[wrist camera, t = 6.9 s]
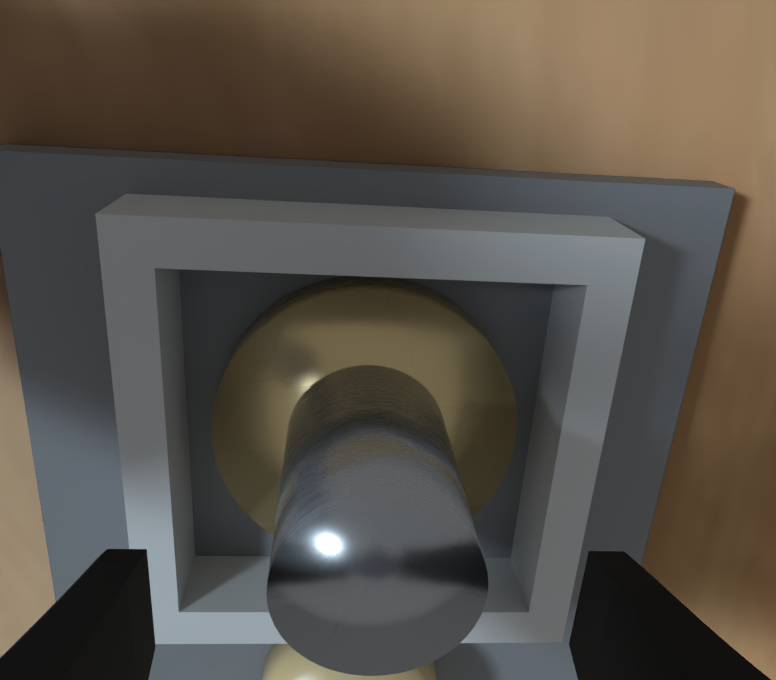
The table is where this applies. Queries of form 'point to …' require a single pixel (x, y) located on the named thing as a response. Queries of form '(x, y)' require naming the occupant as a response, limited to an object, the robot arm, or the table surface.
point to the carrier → (317, 263)
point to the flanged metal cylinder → (367, 466)
